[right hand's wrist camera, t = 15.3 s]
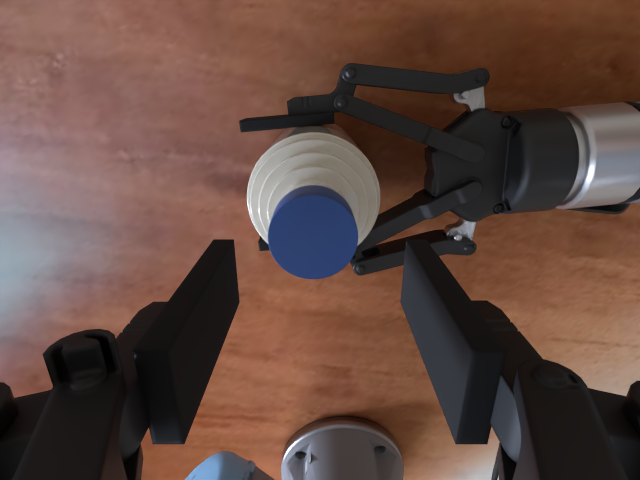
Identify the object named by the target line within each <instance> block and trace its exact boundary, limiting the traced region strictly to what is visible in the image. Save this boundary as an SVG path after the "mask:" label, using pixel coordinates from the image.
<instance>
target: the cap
mask: <svg viewBox="0 0 640 480" xmlns="http://www.w3.org/2000/svg"><path fill="white" fill-rule="evenodd" d="M268 245H269V248H270V252H271V254H272V256H273V257H274V259H275V260H276V262H277V263H278V264H279V265H280V266H281V267H282V268H283V269H284V270H286V271H287V272H289V273H291V274H293V275H295V276H298V277H301V278H306V279H321V278H325V277H329V276H331V275H334V274H336V273H337V272H339V271H340V270H342V269H343V268H344V267H345V266H346V265H347V264H348V263H349V262H350V261H351V259H352V258H353V256H354V254H355V252H356V249H357V245H358V229H357V225H356V222H355V218H354V215H353V212H352V209H351V207H350V206H349V204H348V203H347V201H346V200H345V199H344V198H343V197H342V196H341V195H340V194H339V193H337V192H336V191H334V190H332V189H330V188H327V187H324V186H318V185H308V186H303V187H299V188H297V189H294V190H292V191H291V192H289V193H288V194H286V195H285V196H284V197H283V198H282V199H281V200H280V202H279V203H278V205H277V206H276V208H275V211H274V213H273V216H272V219H271V222H270V225H269V229H268Z"/></svg>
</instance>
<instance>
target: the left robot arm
mask: <svg viewBox="0 0 640 480" xmlns="http://www.w3.org/2000/svg"><path fill="white" fill-rule="evenodd" d="M489 76H490V75H489V72H488V71H487V70H486V69H484V68H479V69H472V70H465V71H462V72H458V73H454V74H441V73H433V72H424V71H415V70H407V69H398V68H390V67H381V66H372V65H364V64H355V63H349V64H347V65H345V66H344V67H343V68H342V70H341V72H340V76H339V80H338V84H337V87H336V89H335V90H334V91H333V92H332V93H330V94H327V95H316V96H305V97H295V98H292V99H291V100H289V101H287V105H288V114H289V115H278V116H267V117H255V118H246V119H243V120H240V121H239V123H240V129H241V132H249V131H260V130H271V129H282V128H293V127H305V126H316V125H327V124H334V112H342V113H345V114H347V115H350V116H353V117H355V118H358V119H360V120H363V121H366V122H368V123H371V124H374V125H376V126H379V127H382V128H384V129H387V130H389V131H392V132H395V133H397V134H400V135H403V136H405V137H408V138H410V139H413V140H416V141H418V142H421V143H423V144H426V145H428V147H427V148H425V161H426V165H427V171H426V174H425V178H424V189H423V190H421V191H419V192H417V193H415V194H414V195H413V197H412V198H410V199H408V200H406V201H404V202H402V203H400V204H398V205H397V206H395V207H393V208H391V209H389V210H387V211H385V212H383V213H381V214H379V215H378V216H377V219H376V221H375V224H374V226H373V228H372V229H371V231H370V232H369V234H368V235H367V237H366V238H365V239H364V240H363V241H362V242H361V243H360V244H359V245H358V246H357V249H356V252H355V254H354V256H353V258H352V259H351V261H350V263H351V265H352V267H353V270H354V272H355V273H356V274H357V275H365V274H369V273H373V272H377V271H381V270H385V269H389V268H393V267H397V266H401V265H404V259H405V248H406V240H427V241H428V243H429V244H430V245H431V247H432V248H433V249H434V251H435V252H436V253H437V255H438V256H440V255H444V254H456V255H471V254H473V253H474V252H475V250H476V244H475V243H474V242H473V241H472V238H473V233H474V229H475V225H476V222H477V221H480V220H482V219H483V218H485V217H487V216H489V215H493V214H509V213H521V212H533V211H544V210H551V209H553V208H556V209H571V208H581V207H591V206H601V205H611V204H624V203H638V202H640V101H637V102H617V103H605V104H594V105H582V106H570V107H561V108H559V109H557V110H556V109H552V108H545V109H534V110H523V111H512V112H501V113H496V112H493V111H492V110H490V109H487V108H485V100H484V87H483V86H485V85H486V84H487V83H488V81H489ZM356 85H363V86H372V87H380V88H389V89H398V90H407V91H416V92H425V93H434V94H449V95H450V99H451V101H452V102H454V103H461V104H463V105H464V106H465V107H466V111H465V112H464V113H463V114H462V115H460V116H459V117H458V118H457V119H455V120H454V121H453V122H452V123H451V124H449V125H448V126H447V127H446V128H444V129H443V130H442V131H441V130H438V129H436V128H433V127H430V126H428V125H425V124H422V123H420V122H417V121H415V120H412V119H409V118H407V117H404V116H402V115H399V114H397V113H394V112H391V111H389V110H386V109H384V108H381V107H379V106H376V105H373V104H371V103H368V102H366V101H363V100H360V99H358V98H355V97H353V95H354V92H355V88H356ZM448 210H450V211H451V212H453V213H454V214H456V215H458V216H459V217H460V219H459V220H458V221H457V222H456V223H454V224H449V225H446V226H445V229H444V230H433V231H429V232H425V233H421V234H417V235H413V236H409V237H406V238H402V239H398V240H394V241H390V242H386V243H383V244H379V245H376V244H378V243H380V242H382V241H384V240H386V239H388V238H390V237H392V236H394V235H395V234H397V233H399V232H401V231H403V230H405V229H407V228H409V227H411V226H413V225H415V224H417V223H419V222H421V221H423V220H425V219H432V218H435V217H437V216H439V215H441V214H443V213H445V212H446V211H448ZM258 243H259V249H260V251H265V250H270V248H269V245H268V243H267V242H265V240H264V239H263V238H262V237H260V239H259V242H258ZM374 245H375V246H374ZM281 477H282V480H403V462H402V457H401V453H400V449H399V446H398V444H397V442H396V440H395V439H394V437H393V436H392V435H391V434H390V433H389V432H388V431H387V430H386V429H384V428H383V427H381V426H379V425H378V424H376V423H374V422H371V421H368V420H365V419H361V418H356V417H331V418H326V419H322V420H318V421H316V422H313V423H311V424H308V425H307V426H305V427H303V428H302V429H300V430H299V431H298V432H296V433H295V434H294V435H293V436H292V437H291V439H290V440H289V441H288V443H287V444H286V446H285V449H284V452H283V456H282V466H281ZM185 480H274V479H273V478H272V477H270V476H269V475H267V474H266V473H265V472H263V471H262V470H261V469H259V468H258V467H256V466H255V463H254V462H253V461H251V460H250V461H247V460H245V459H244V458H242V457H240V456H238V455H237V454H235V453H233V452H229V451H222V452H218V453H216V454H214V455H212V456H210V457H208V458H207V459H206V460H205V461H204V462H202V463H201V464H200V465H198V466H197V467H196V468H195V469H194V470H193V471H192V472H191V473H190V474H189V476H188V477H187V478H186V479H185Z"/></svg>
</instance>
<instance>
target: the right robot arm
mask: <svg viewBox="0 0 640 480" xmlns="http://www.w3.org/2000/svg"><path fill="white" fill-rule="evenodd" d="M238 305H239V292H238V281H237V270H236V259H235V248H234V240H213V241H212V243H211V244H210V245H209V247H208V248H207V249H206V251H205V252H204V253H203V255H202V256H201V258H200V259H199V260H198V262H197V263H196V264H195V266H194V267H193V268H192V270H191V271H190V272H189V274H188V275H187V277H186V278H185V279H184V281H183V282H182V283H181V285H180V286H179V287H178V289H177V290H176V291H175V293H174V294H173V296H172V297H171V298H170V300H169V301H168V302H152V303H151V304H149V305H148V306H146V307H144V308H143V309H141V310H140V311H139V312H138V313H137V314H136V315H135V316H134V318H133V319H132V320H131V321H130V324H128V325H127V326H126V327H125V328H124V330H123V333H120V334H119V335H118V337H117V338H116V339H115V335H114V334H113V333H111V332H110V331H108V330H102V329H93V330H85V331H81V332H77V333H73V334H71V335H69V336H66V337H64V338H62V339H60V340H58V341H57V342H55V343H54V344H52V345H51V346H49V348H48V349H47V350H46V351H45V352H44V353H43V357H44V360H45V363H46V366H47V369H48V372H49V375H50V378H51V381H52V384H53V388H52V390H49V391H45V392H40V393H35V394H31V395H26V396H22V397H17V398H14V396H13V394H12V391H11V388H10V387H9V386H8V385H6V384H5V383H2V382H0V480H141V474H142V465H143V453H142V448H141V444H140V443H141V441H142V439H143V437H144V435H145V433H146V431H147V429H148V427H149V430H150V434H151V439H152V443H153V444H185V441H186V438H187V436H188V433H189V431H190V428H191V426H192V423H193V420H194V418H195V415H196V413H197V410H198V408H199V405H200V402H201V400H202V397H203V395H204V392H205V390H206V387H207V384H208V382H209V379H210V377H211V374H212V372H213V369H214V366H215V364H216V361H217V359H218V356H219V354H220V351H221V348H222V346H223V343H224V341H225V338H226V336H227V333H228V330H229V328H230V325H231V323H232V320H233V318H234V315H235V312H236V310H237V307H238ZM401 305H402V307H403V310H404V312H405V315H406V318H407V320H408V323H409V325H410V328H411V330H412V333H413V336H414V338H415V341H416V343H417V346H418V348H419V351H420V354H421V356H422V359H423V361H424V364H425V366H426V369H427V372H428V374H429V377H430V379H431V382H432V384H433V387H434V390H435V392H436V395H437V397H438V400H439V402H440V405H441V408H442V410H443V413H444V415H445V418H446V420H447V423H448V426H449V428H450V431H451V433H452V436H453V438H454V441H455V444H487V443H488V439H489V434H490V430H491V426H492V428H493V429H494V431H495V433H496V435H497V437H498V439H499V441H500V444H499V448H498V452H497V456H496V461H495V465H494V469H493V473H492V480H497V478H498V474H499V480H640V381H636V382H635V383H633V384H632V385H631V386H630V388H629V391H628V394H627V396H622V395H617V394H612V393H608V392H603V391H598V390H594V389H590V388H588V387H587V386H586V384H585V383H584V381H583V380H582V379H581V377H579V376H578V375H577V374H575V373H574V372H573V371H572V370H570V369H568V368H566V367H564V366H562V365H560V364H558V363H555V362H551V361H548V360H544V359H542V357H541V356H540V355H539V354H538V353H537V352H536V350H535V349H534V348H533V347H532V346H531V344H530V343H529V342H528V341H527V340H526V339H525V337H524V336H523V335H522V334H521V333H520V331H518V329H517V328H516V327H515V326H514V324H513V323H512V322H510V320H509V318H508V317H507V316H506V315H505V314H504V312H503V311H502V310H501V309H499V308H498V307H496V306H494V305H493V304H491V303H490V302H488V301H471V300H470V298H469V297H468V296H467V294H466V293H465V291H464V290H463V289H462V287H461V286H460V285H459V283H458V282H457V281H456V279H455V278H454V277H453V275H452V274H451V272H450V271H449V270H448V268H447V267H446V266H445V264H444V263H443V262H442V260H441V259H440V258H439V256H438V255H437V253H436V252H435V251H434V249H433V248H432V247H431V245H430V244H429V243H428V241H427V240H406V248H405V259H404V270H403V281H402V292H401Z"/></svg>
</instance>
